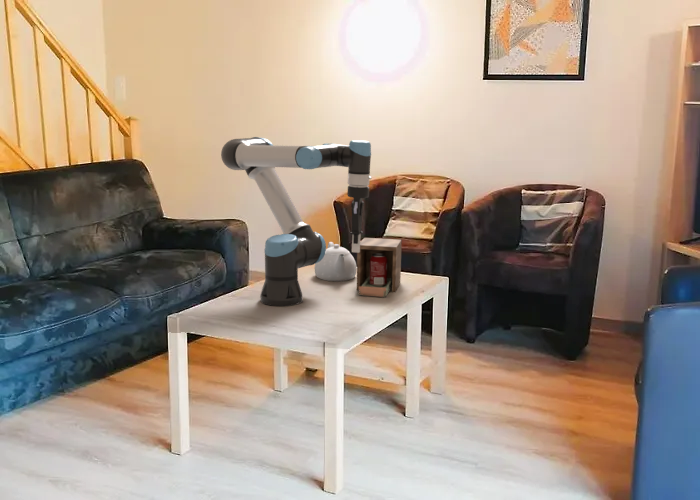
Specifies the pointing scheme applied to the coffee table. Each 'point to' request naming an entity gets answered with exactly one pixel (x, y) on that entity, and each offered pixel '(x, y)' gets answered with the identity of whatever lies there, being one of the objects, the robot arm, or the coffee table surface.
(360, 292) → the tray
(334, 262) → the teapot
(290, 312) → the coffee table surface
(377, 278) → the soda can
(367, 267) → the open wooden crate
